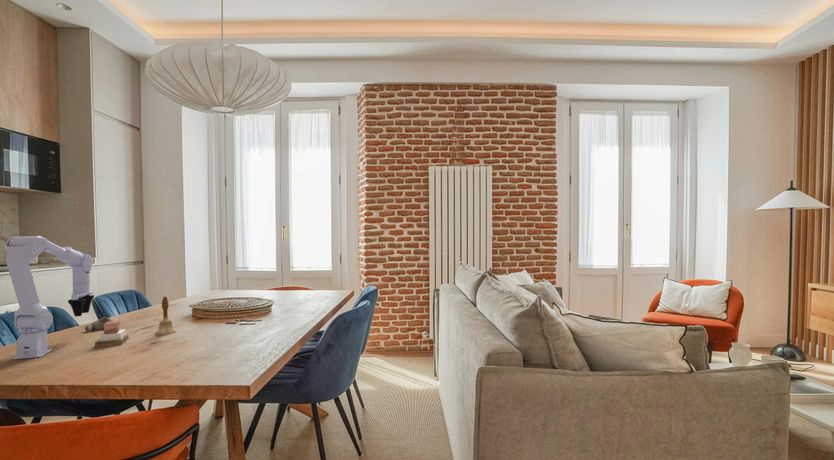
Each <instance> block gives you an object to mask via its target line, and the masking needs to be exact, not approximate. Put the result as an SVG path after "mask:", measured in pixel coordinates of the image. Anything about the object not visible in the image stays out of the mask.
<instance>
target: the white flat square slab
mask: <svg viewBox="0 0 834 460" xmlns="http://www.w3.org/2000/svg"><path fill="white" fill-rule="evenodd" d="M126 331H127V329H126V328H124V329H120V331H119V332H118V333H111V334H104V331H103V332H102V333H101V334H99V339H100V341H108V340H118V339H122V338H123V337H124V336H125V335H127V332H126Z"/></svg>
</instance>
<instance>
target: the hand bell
mask: <svg viewBox="0 0 834 460" xmlns="http://www.w3.org/2000/svg"><path fill="white" fill-rule="evenodd" d="M161 308H162V311H163V313H162V315H163V317H162V319H161V320H160V321H159V326H158V328H157V330H156V331H155V332H154V335H157V336H160V335H162V336H163V335H171V334H174V333H177V329H176V328H175V326H173V323H172V319H171V318H169V316H168V314H169V313H168V309H169V300H168V298H167V296H163V297H162V300H161Z"/></svg>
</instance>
